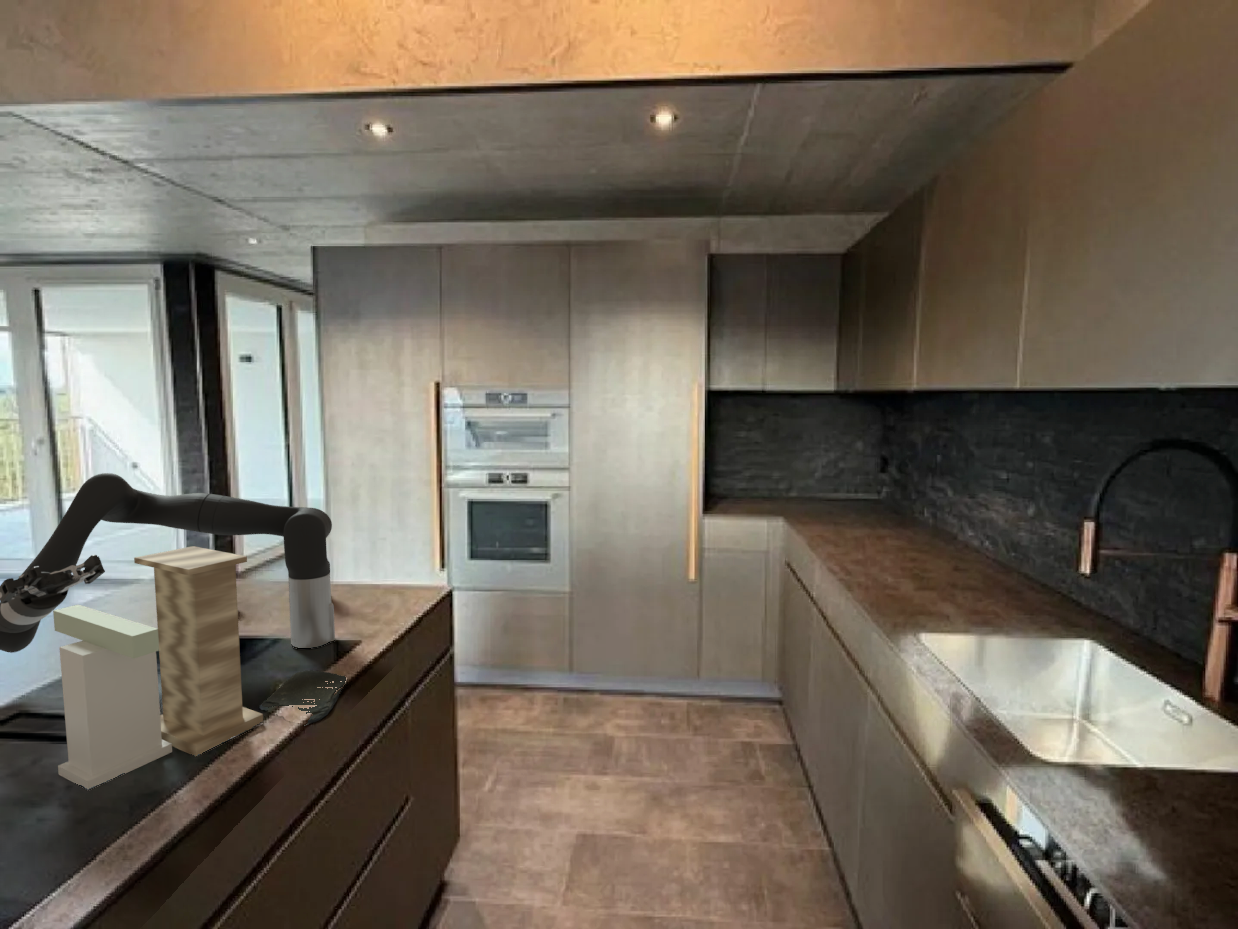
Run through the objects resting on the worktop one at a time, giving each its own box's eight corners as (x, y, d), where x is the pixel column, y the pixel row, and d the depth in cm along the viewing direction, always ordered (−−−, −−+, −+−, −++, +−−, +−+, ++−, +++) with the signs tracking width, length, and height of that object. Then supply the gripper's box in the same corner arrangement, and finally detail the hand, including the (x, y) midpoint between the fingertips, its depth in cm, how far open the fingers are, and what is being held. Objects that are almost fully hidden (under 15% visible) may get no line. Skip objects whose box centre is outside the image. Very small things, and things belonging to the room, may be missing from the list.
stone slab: (254, 686, 133) (254, 677, 132) (341, 669, 142) (341, 660, 141) (261, 738, 113) (261, 728, 112) (361, 714, 122) (361, 704, 122)
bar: (54, 630, 105) (53, 610, 105) (79, 624, 108) (78, 604, 108) (133, 658, 95) (132, 636, 94) (159, 650, 98) (157, 628, 98)
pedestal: (58, 774, 100) (48, 648, 98) (142, 738, 111) (134, 624, 109) (88, 790, 96) (78, 659, 94) (172, 752, 107) (164, 633, 105)
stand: (139, 732, 113) (127, 558, 110) (207, 703, 124) (198, 545, 121) (196, 756, 106) (185, 571, 103) (263, 724, 117) (255, 555, 113)
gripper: (-24, 591, 113) (9, 555, 107) (71, 571, 126) (106, 538, 119) (-9, 629, 113) (25, 595, 106) (85, 605, 125) (121, 573, 118)
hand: (68, 565), depth 113 cm, fingers open, 8 cm apart
